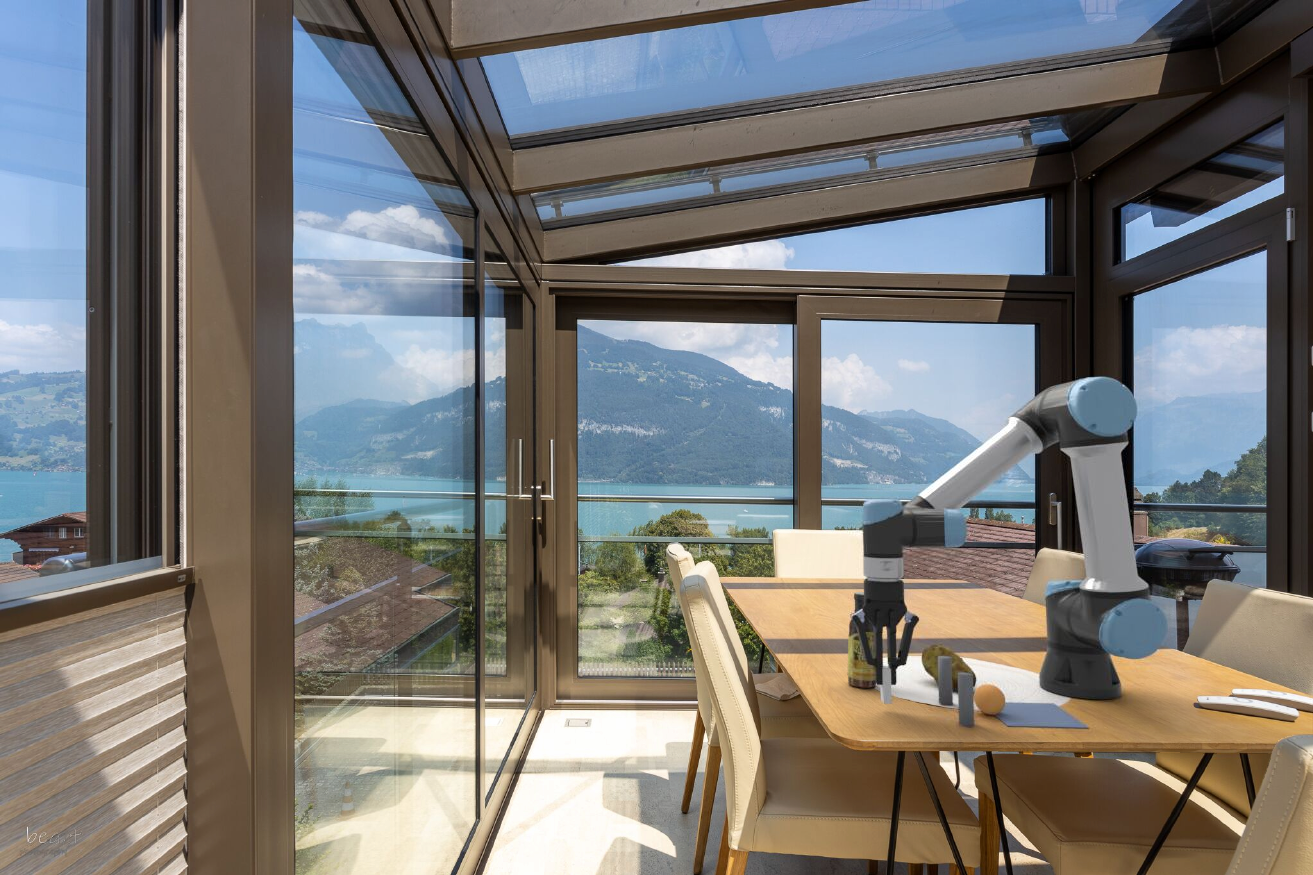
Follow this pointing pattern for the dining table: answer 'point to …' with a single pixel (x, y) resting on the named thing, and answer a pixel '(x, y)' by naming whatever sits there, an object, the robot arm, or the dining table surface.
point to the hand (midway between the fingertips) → (886, 701)
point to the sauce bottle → (860, 651)
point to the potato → (931, 663)
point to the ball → (989, 699)
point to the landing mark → (1037, 716)
